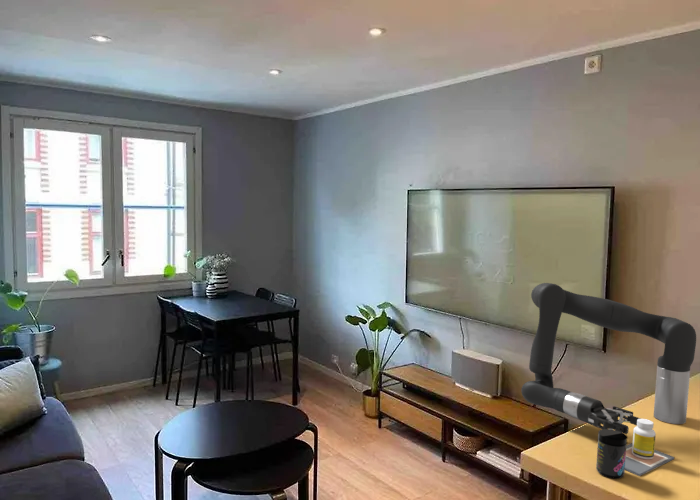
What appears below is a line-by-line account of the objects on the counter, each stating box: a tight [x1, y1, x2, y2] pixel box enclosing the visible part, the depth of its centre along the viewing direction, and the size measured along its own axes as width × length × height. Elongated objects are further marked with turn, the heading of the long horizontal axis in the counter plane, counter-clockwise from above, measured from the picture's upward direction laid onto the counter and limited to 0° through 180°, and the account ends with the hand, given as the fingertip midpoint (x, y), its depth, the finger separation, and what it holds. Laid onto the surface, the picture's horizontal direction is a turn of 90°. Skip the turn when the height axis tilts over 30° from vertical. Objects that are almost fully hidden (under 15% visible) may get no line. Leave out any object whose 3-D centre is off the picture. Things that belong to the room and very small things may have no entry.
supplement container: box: [595, 429, 628, 480], centre depth 138 cm, size 7×7×10 cm
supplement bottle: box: [631, 418, 657, 459], centre depth 147 cm, size 5×5×10 cm
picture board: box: [625, 442, 675, 477], centre depth 147 cm, size 18×11×1 cm, turn 124°
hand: (636, 427), depth 149 cm, fingers open, 8 cm apart
